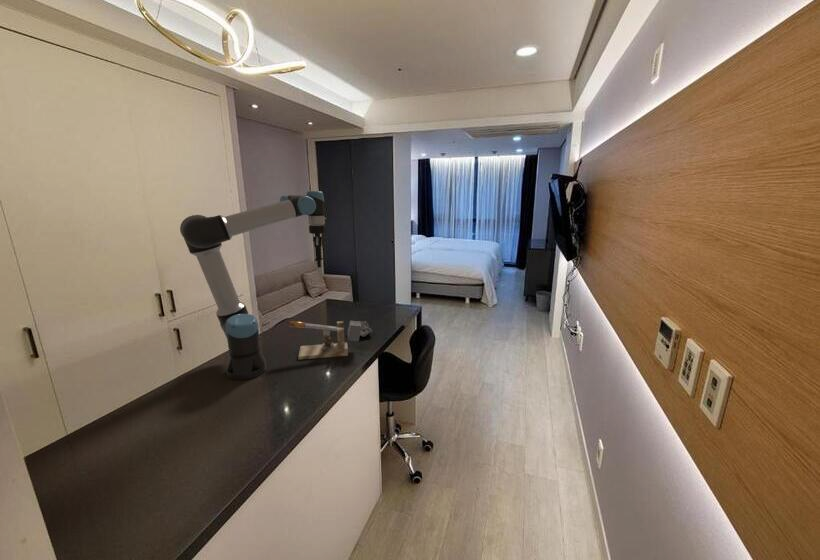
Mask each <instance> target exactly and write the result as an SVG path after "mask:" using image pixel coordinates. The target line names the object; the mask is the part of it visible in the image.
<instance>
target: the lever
mask: <svg viewBox="0 0 820 560" xmlns="http://www.w3.org/2000/svg"><path fill="white" fill-rule="evenodd" d="M357 321H358V320H356V321H355V320H350V321H349V324H348V328H349V330H348V329H347V330H348V331H347V341H351V342H359V341H360V332H361V322H362V321H360V322H357ZM288 322H289V323H288V327H290V328H298V329H299V328H300V329H306V328H307V329H316V330H323V333H322V334H323V336H325V337H330V336H331V332H332V331H333V332H337V328H342V326H339V327H337V326H334V325H325V324H324V325H323V324H318V323H316V324H315V323H307V322H306V321H305V322H304V321H296V320H289V321H288Z"/></svg>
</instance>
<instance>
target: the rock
mask: <svg viewBox="0 0 820 560" xmlns="http://www.w3.org/2000/svg"><path fill="white" fill-rule="evenodd" d="M356 321H357V322H361V332H360V336H361V337H362V338H364V337H367V336H368V335H369V334H371V333H373V329H372V328H371V327H370V325H369V323H368V322H367V321H366V320H364V321H361V320H356ZM348 330H349V327H348V328H347V332H348Z"/></svg>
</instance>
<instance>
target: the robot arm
mask: <svg viewBox="0 0 820 560" xmlns="http://www.w3.org/2000/svg"><path fill="white" fill-rule="evenodd" d="M325 214H326V213H325V197H324V193H323V191H321V190H307V192H306V195H293V194H291V195H290V194H287V195H281V196H280V198H279V202H275V203H271V204H267V205H263V206H259V207H255V208H252V209H249V210H245V211H241V212H238V213H234V214H229V215H227V216H224V215H221V214H218V215H214V216H209V217H207V216H205V215H202V214H194V215H193V214H192V215H190V216H187V217H185V218H184V220H182V222H181V223H180V227H179V229H180V230H179V231H180V235H181V236H182V237H183V239H184V242H185V244H186V247H187V249H188V252H189V254H191V255H193V256H194V257H196V259H197V261H198V263H199V266H200V269H201V270H202V274H203V275H204V278H205V280H206V283H207V284H208V288H209V290H210V293H211V294H212V297H213V299H214V301H215V304H216V306H217V311H216V317H217V320H218V321H219V324H220V325H219V326H220V327H221V329H222V330H223V333H224V335H225V338H226V339H227V346H228V347H227V348H228V354H229V357H228V361H227V367H226V370H225V371H226V376H227V378H229V379H230V380H235V381H242V380H243V381H244V380H249V379H253V378H255V377H258V376H260V375H262V374H264V372H265V371H266V370H267V368H268V367H267V361H266V359H265V357H264V355H263V353H262V351H261V345H260V331H259V322H258V318H257V317H256V316H255V315H253V314H250V313H249V311H248V308H247V307H246V304H245V302H242V301H240V299H239V297H238V293H237V291H236V289H235V286H234V283H233V280H232V279H231V276H230V274H229V273H230V272H229V271H228V268H227V266H226V263H225V261H224V258H223V255H222V253H221V251H220V249H222V248H221V247H222V246H223V245H222V244H223V243H224V242H227V241H231V240H232V238H233V237H234V236H237V235H240V234H245V233H247V232H251V231H253V230H257V229H261V228H264V227H267V226H270V225H271V226H272V225H274V224H278V223H280V222H284V221H287V220H290V219H293V218H298V217H302V216H307V221H308V232H309V234H314V236H313V237H312V238H313V239H312V240H313V247H314V251H315V252H314V253H315V259H314V261H315V265H316V274H317V275H318V274H319V275H321V274H323V273H324V272H323V260H324V258H323V255H322V247H323V246H322V245H323V242H322V241H323V236H321V234H322V235H323V234H326V225H325V224H326V221H325V220H327V217H325Z"/></svg>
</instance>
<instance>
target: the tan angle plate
mask: <svg viewBox="0 0 820 560" xmlns="http://www.w3.org/2000/svg"><path fill="white" fill-rule="evenodd" d="M339 326H342V328H337V331H336V332H337V333H336V335H337V342H336V343H334V342H333V339H332V338H331V337H330V336H325V338H323V343H322V344H310V345H300V348H299V351H298V357H297V358H298V360H308V359H309V360H311V359H323V358H335V357H346V356H347V357H348V356H349V348H348V342H345V327H344V326H345V325H344V320H340V321H336V327H339Z"/></svg>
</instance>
